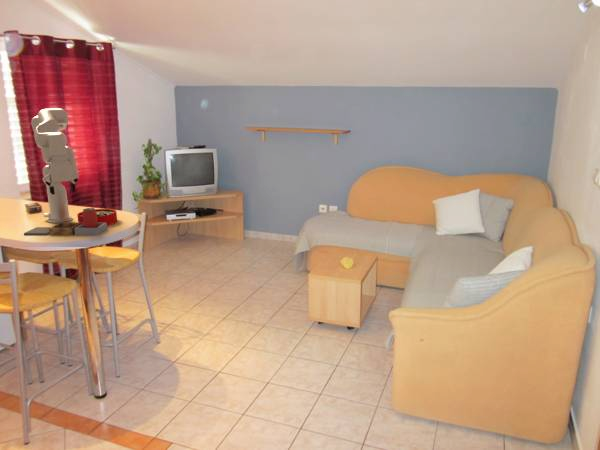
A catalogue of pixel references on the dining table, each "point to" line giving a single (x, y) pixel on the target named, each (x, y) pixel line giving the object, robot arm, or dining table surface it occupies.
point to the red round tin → (102, 216)
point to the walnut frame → (64, 229)
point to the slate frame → (90, 229)
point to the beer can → (90, 218)
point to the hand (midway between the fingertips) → (63, 192)
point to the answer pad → (38, 231)
